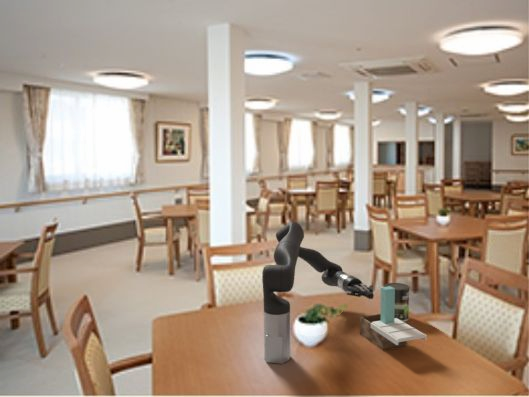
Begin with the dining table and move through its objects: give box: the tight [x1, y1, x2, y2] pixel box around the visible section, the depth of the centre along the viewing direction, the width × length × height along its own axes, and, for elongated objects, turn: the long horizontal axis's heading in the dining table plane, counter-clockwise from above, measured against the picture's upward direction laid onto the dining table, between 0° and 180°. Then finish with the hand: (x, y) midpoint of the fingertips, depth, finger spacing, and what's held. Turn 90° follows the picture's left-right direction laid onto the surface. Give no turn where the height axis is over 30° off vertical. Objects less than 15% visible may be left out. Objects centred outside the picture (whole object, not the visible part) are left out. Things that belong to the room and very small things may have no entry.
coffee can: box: [383, 282, 410, 323], centre depth 198 cm, size 10×10×14 cm
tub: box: [359, 313, 407, 351], centre depth 176 cm, size 16×10×7 cm, turn 19°
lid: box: [370, 286, 427, 345], centre depth 166 cm, size 17×12×15 cm
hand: (371, 296), depth 182 cm, fingers closed
